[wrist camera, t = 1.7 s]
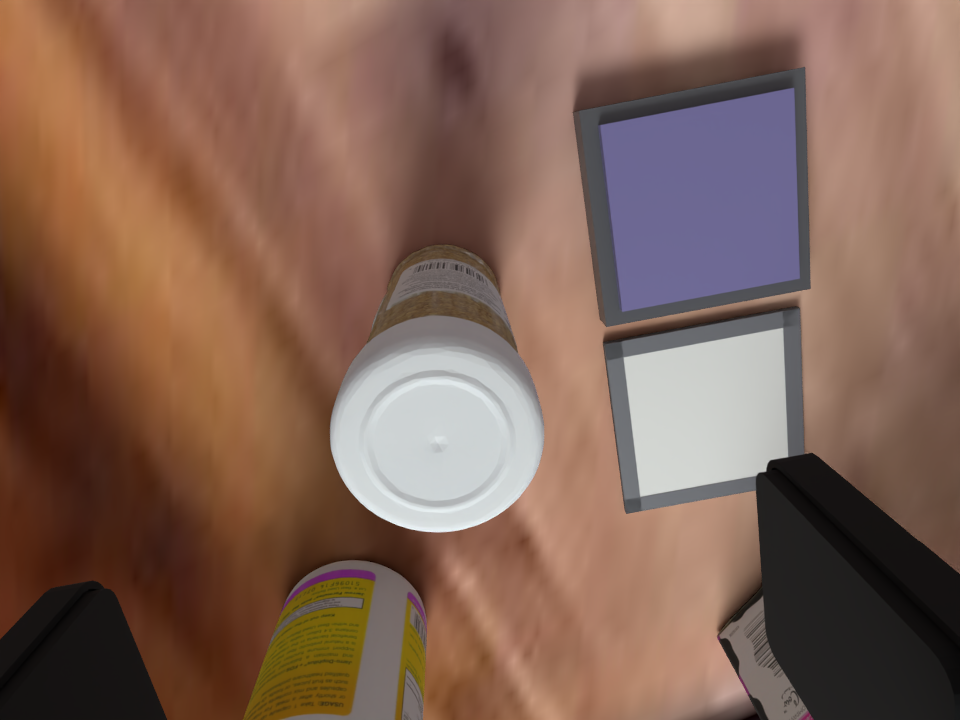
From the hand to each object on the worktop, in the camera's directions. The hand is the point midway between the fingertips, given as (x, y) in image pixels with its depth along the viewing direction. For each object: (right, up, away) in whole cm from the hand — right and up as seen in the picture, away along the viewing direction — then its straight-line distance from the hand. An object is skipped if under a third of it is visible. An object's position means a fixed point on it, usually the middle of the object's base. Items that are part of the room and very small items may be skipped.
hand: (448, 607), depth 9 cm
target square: (+10, +1, +19) cm, 21 cm away
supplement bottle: (-5, -8, +22) cm, 24 cm away
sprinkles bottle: (-1, +6, +17) cm, 18 cm away
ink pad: (+9, +10, +16) cm, 21 cm away
